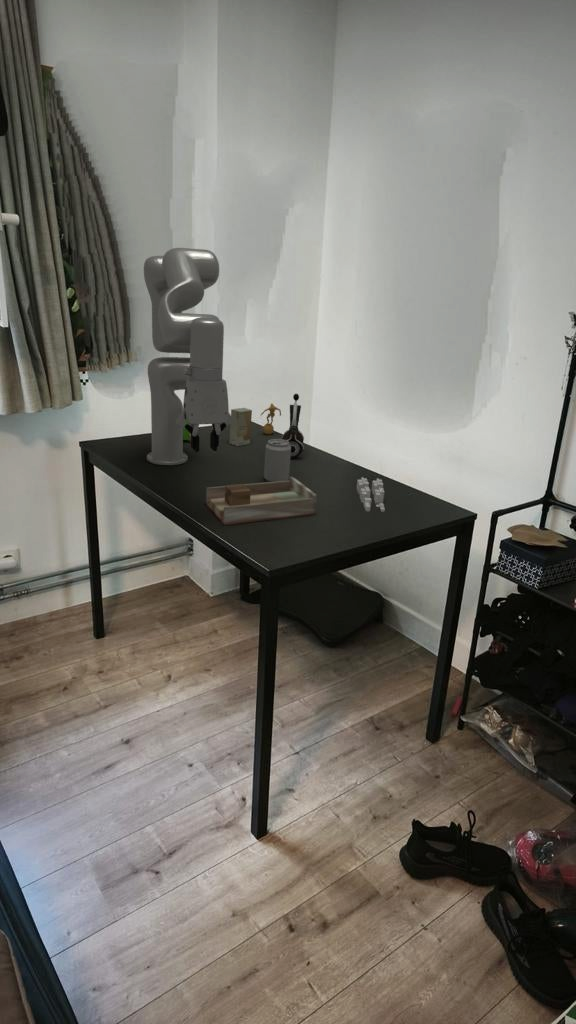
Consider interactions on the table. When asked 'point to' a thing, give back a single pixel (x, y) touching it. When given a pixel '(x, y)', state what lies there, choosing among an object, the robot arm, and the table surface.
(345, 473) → the table surface
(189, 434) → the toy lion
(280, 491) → the trap box
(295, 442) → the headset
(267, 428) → the figurine
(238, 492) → the walnut block
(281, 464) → the can
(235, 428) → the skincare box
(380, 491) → the modular blocks
